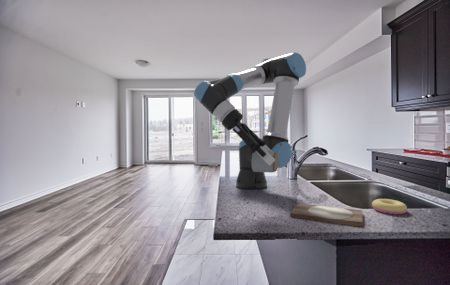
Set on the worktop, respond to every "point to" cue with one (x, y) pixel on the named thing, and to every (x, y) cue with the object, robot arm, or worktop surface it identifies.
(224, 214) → the worktop surface
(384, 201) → the donut
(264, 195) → the worktop surface
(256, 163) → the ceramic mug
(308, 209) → the walnut board
